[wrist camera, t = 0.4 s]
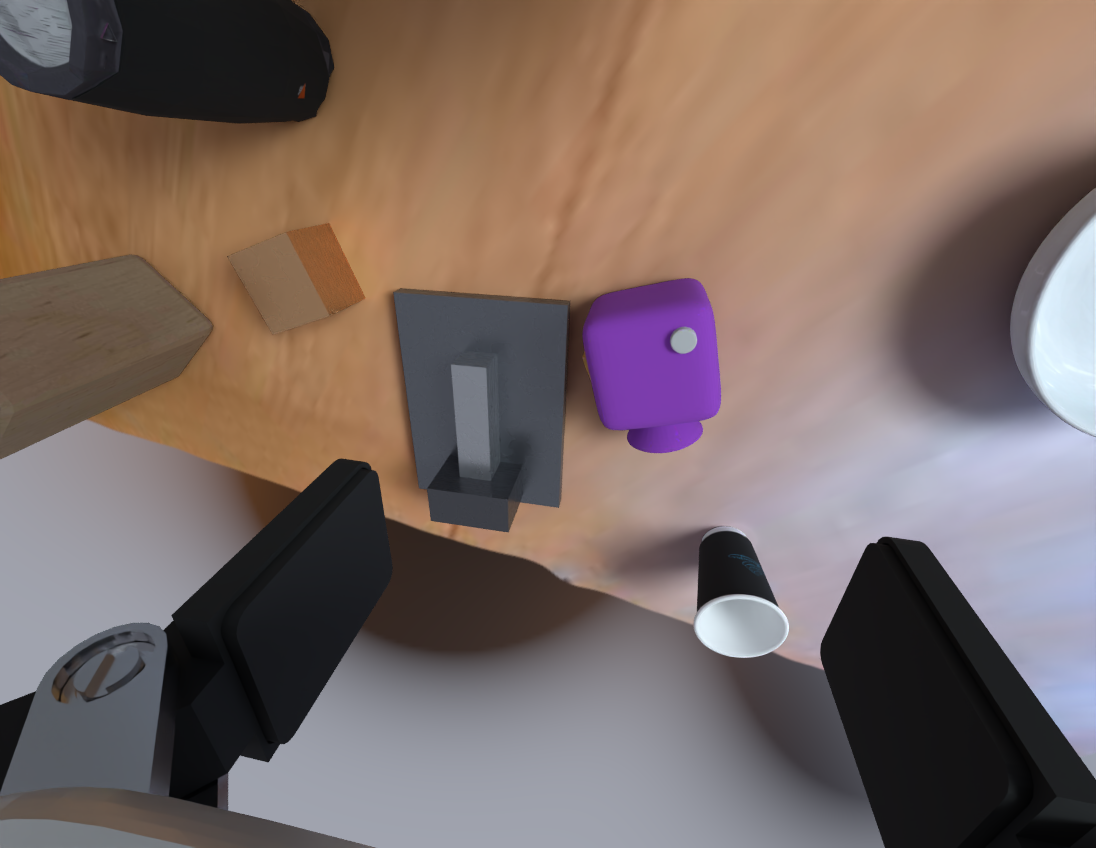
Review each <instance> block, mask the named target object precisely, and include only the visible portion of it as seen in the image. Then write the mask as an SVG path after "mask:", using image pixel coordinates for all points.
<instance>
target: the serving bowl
mask: <svg viewBox="0 0 1096 848" xmlns="http://www.w3.org/2000/svg"><path fill="white" fill-rule="evenodd" d="M1010 338H1011V346H1012V351H1013V355H1014V358H1015V361H1016V364H1017V367H1018V369H1019V371H1020V373H1021V375H1022V377H1023V378H1024V380H1025V382H1026V383H1027V385H1028V386H1029V387H1030V389H1031V390H1032V392H1033V393H1034V394H1035V395H1036V396H1037V397H1038V399H1039V400H1040V401H1041V402H1042V403H1043V404H1044V405H1046V406H1047V407H1048V408H1049V409H1050V410H1051V411H1052V412H1053V413H1054V414H1055V415H1056V416H1058V417H1059V418H1060V419H1061V420H1063V421H1064V422H1066V423H1067V424H1069V425H1071V426H1072V427H1074V428H1076V429H1078V430H1080V431H1082V432H1084V433H1086V434H1089V435H1091V436H1094V437H1096V188H1094V189H1093V190H1092V191H1091V192H1089V193H1088V194H1087V195H1086V196H1085V197H1084V198H1083V199H1081V200H1080V201H1079V202H1078V203H1077V204H1076V205H1075V206H1074V207H1073V208H1072V209H1071V210H1070V211H1069V212H1068V213H1067V214H1066V215H1065V216H1064V217H1063V218H1062V219H1061V220H1060V221H1059V222H1058V224H1057V225H1056V226H1055V227H1054V228H1053V229H1052V230H1051V232H1050V233H1049V234H1048V236H1047V237H1046V238H1045V239H1044V241H1043V242H1042V243H1041V245H1040V246H1039V248H1038V249H1037V251H1036V252H1035V254H1034V256H1033V257H1032V259H1031V261H1030V262H1029V264H1028V266H1027V268H1026V270H1025V272H1024V274H1023V276H1022V278H1021V281H1020V283H1019V286H1018V289H1017V292H1016V295H1015V299H1014V302H1013V307H1012V312H1011V321H1010Z"/></svg>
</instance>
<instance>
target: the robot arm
mask: <svg viewBox="0 0 1096 848" xmlns="http://www.w3.org/2000/svg"><path fill="white" fill-rule="evenodd" d="M391 575H392V560H391V554H390V547H389V541H388V535H387V529H386V522H385V516H384V509H383V503H382V497H381V490H380V484H379V478H378V474H377V472H376V471H374V470H371V466H370V465H369V464H368V463H366V462H361V461H354V460H348V459H337V460H336V461H334V462H333V463H332V464H331V465H330V466H329V467H328V468H327V469H326V470H325V471H324V472H323V473H322V474H321V475H320V476H318V477H317V478H316V479H315V480H314V481H313V482H312V483H311V484H310V485H309V486H308V487H307V488H306V489H305V490H304V491H303V492H302V493H300V494H299V495H298V496H297V497H296V498H295V499H294V500H293V501H292V502H291V503H290V504H289V505H288V506H287V507H286V508H285V509H284V510H283V511H282V512H280V514H278V515H277V516H276V517H275V518H274V519H273V520H272V521H271V522H270V523H269V524H268V525H267V526H266V527H265V528H263V529H262V530H261V531H260V532H259V533H258V534H257V535H256V536H255V537H254V538H253V539H252V540H251V541H250V542H249V543H248V544H247V545H246V546H244V547H243V548H242V549H241V550H240V551H239V552H238V553H237V554H236V555H235V556H234V557H233V558H232V559H231V560H230V561H229V562H228V563H226V564H225V565H224V566H223V567H222V568H221V569H220V570H219V571H218V572H217V573H216V574H215V575H214V576H213V577H212V578H211V579H209V581H207V582H206V583H205V584H204V585H203V586H202V587H201V588H200V589H199V590H198V591H197V592H196V593H195V594H194V595H193V596H191V597H190V598H189V599H188V600H187V601H186V602H185V603H184V604H183V605H182V606H181V607H180V608H179V609H178V610H177V611H176V612H175V613H174V614H172V618H173V620H174V621H173V622H171V624H170V625H168V626H167V627H166V628H165V629H164V630H162V629H161V628H160V627H159V626H156V625H153V624H150V623H130V624H126V625H121V626H117V627H113V628H111V629H108V630H106V631H103V632H101V633H98V634H96V635H94V636H92V637H90V638H89V639H87V640H85V641H83V642H81V643H80V644H78V645H76V646H75V647H74V648H72V649H71V650H70V651H68V652H67V653H66V654H65V655H63V656H62V657H61V658H59V659H58V660H57V662H56V663H55V664H54V665H53V666H52V667H51V668H50V669H49V670H48V671H47V672H46V674H45V675H44V677H43V679H42V681H41V682H40V684H39V686H38V688H37V690H36V691H35V692H33V693H30V694H28V695H25V696H22V697H20V698H17V699H15V700H12V701H9V702H7V703H4V704H2V705H0V848H375V847H371V846H367V845H363V844H359V843H355V842H352V841H347V840H344V839H339V838H336V837H332V836H328V835H324V834H320V833H317V832H313V831H309V830H305V829H301V828H297V827H294V826H290V825H286V824H282V823H278V822H274V821H270V820H266V819H262V818H257V817H253V816H249V815H245V814H240V813H236V812H231V811H228V772H229V770H230V769H231V768H232V766H233V765H234V763H235V762H236V760H237V759H238V758H239V756H240V755H241V756H244V757H248V758H253V759H257V760H261V761H265V762H269V761H270V759H271V758H272V756H273V754H274V753H275V751H276V750H277V748H278V746H279V745H280V744H285V743H287V742H288V741H289V740H290V739H291V738H292V737H293V736H294V734H295V733H296V731H297V730H298V728H299V727H300V725H301V723H302V722H303V720H304V719H305V717H306V715H307V714H308V712H309V711H310V709H311V707H312V706H313V704H314V702H315V701H316V699H317V698H318V696H319V695H320V693H321V691H322V690H323V688H324V686H325V685H326V683H327V682H328V680H329V678H330V677H331V675H332V674H333V672H334V670H335V669H336V667H337V666H338V664H339V662H340V661H341V659H342V657H343V656H344V654H345V653H346V651H347V650H348V648H349V646H350V645H351V643H352V642H353V640H354V638H355V637H356V635H357V633H358V632H359V630H360V629H361V627H362V625H363V624H364V622H365V621H366V619H367V617H368V616H369V614H370V613H371V611H372V609H373V608H374V606H375V605H376V603H377V601H378V600H379V598H380V597H381V595H382V593H383V591H384V590H385V589H386V587H387V585H388V583H389V581H390V579H391ZM820 654H821V661H822V665H823V667H824V670H825V673H826V676H827V679H828V682H829V685H830V688H831V691H832V694H833V697H834V699H835V703H836V705H837V708H838V711H839V714H840V717H841V720H842V723H843V726H844V729H845V732H846V735H847V738H848V741H849V744H850V746H851V749H852V752H853V755H854V758H855V761H856V764H857V767H858V770H859V773H860V776H861V779H862V782H863V785H864V787H865V790H866V793H867V796H868V798H869V802H870V805H871V808H872V811H873V814H874V817H875V820H876V822H877V825H878V828H879V831H880V834H881V837H882V840H883V843H884V846H885V848H1096V780H1095V778H1094V776H1093V775H1092V774H1091V772H1090V771H1089V770H1088V768H1087V767H1086V765H1085V764H1084V763H1083V761H1082V760H1081V758H1080V757H1079V756H1078V754H1077V753H1076V751H1075V750H1074V749H1073V747H1072V746H1071V745H1070V743H1069V742H1068V740H1067V739H1066V738H1065V736H1064V735H1063V733H1062V732H1061V731H1060V729H1059V728H1058V727H1057V725H1056V724H1055V722H1054V721H1053V720H1052V718H1051V717H1050V715H1049V714H1048V713H1047V711H1046V710H1045V708H1044V707H1043V706H1042V704H1041V703H1040V702H1039V700H1038V699H1037V697H1036V696H1035V695H1034V693H1033V692H1032V690H1031V689H1030V688H1029V686H1028V685H1027V684H1026V682H1025V681H1024V679H1023V678H1022V677H1021V675H1020V674H1019V672H1018V671H1017V670H1016V668H1015V667H1014V665H1013V664H1012V663H1011V661H1010V660H1009V659H1008V657H1007V656H1006V654H1005V653H1004V652H1003V650H1002V649H1001V647H1000V646H999V645H998V643H997V642H996V640H995V639H994V638H993V636H992V635H991V634H990V632H989V631H988V629H987V628H986V627H985V625H984V624H983V622H982V621H981V620H980V618H979V617H978V616H977V614H976V613H975V611H974V610H973V609H972V607H971V606H970V604H969V603H968V602H967V600H966V599H965V597H964V596H963V595H962V593H961V592H960V591H959V589H958V588H957V586H956V585H955V584H954V582H953V581H952V579H951V578H950V577H949V575H948V574H947V572H946V571H945V570H944V568H943V567H942V566H941V564H940V563H939V561H938V560H937V559H936V557H935V556H934V554H933V553H932V552H931V550H930V549H929V548H928V547H927V546H926V545H925V544H924V543H922V542H920V541H913V540H906V539H899V538H892V537H882V538H881V539H879V540H878V542H877V543H870V544H869V545H867V547H866V549H865V551H864V553H863V555H862V557H861V559H860V561H859V563H858V565H857V568H856V570H855V572H854V574H853V576H852V578H851V580H850V583H849V585H848V587H847V589H846V591H845V593H844V595H843V597H842V600H841V602H840V604H839V606H838V608H837V610H836V612H835V614H834V617H833V619H832V621H831V623H830V625H829V627H828V629H827V631H826V634H825V636H824V638H823V640H822V643H821V649H820Z"/></svg>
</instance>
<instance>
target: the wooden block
mask: <svg viewBox="0 0 1096 848" xmlns="http://www.w3.org/2000/svg"><path fill="white" fill-rule="evenodd" d="M212 327H213V326H212V324H211V322H210V321H209V320H208V319H207V318H206V317H205V316H204V315H203V314H202V313H201V312H200V311H199V310H198V309H197V308H196V307H194V306H193V305H192V304H191V303H190V302H189V301H188V300H187V299H186V298H185V297H184V296H183V295H182V294H181V293H179V292H178V291H177V290H176V289H175V288H174V287H173V286H172V285H171V284H170V283H169V282H168V281H167V280H166V279H164V278H163V277H162V276H161V275H160V274H159V273H158V272H157V271H156V270H155V269H154V268H153V267H152V266H151V265H149V264H148V263H147V262H146V261H145V260H144V259H143V258H141V257H139V256H137V255H125V256H120V257H115V258H110V259H104V260H99V261H94V262H89V263H83V264H78V265H73V266H68V267H62V268H57V269H52V270H46V271H41V272H36V273H31V274H25V275H20V276H15V277H10V278H4V279H0V459H2V458H4V457H7V456H9V455H11V454H13V453H15V452H17V451H19V450H22V449H24V448H26V447H28V446H30V445H32V444H34V443H37V442H39V441H41V440H43V439H45V438H47V437H49V436H52V435H54V434H56V433H58V432H60V431H62V430H64V429H66V428H68V427H71V426H73V425H75V424H77V423H79V422H81V421H84V420H86V419H88V418H90V417H92V416H95V415H97V414H99V413H101V412H103V411H105V410H107V409H110V408H112V407H114V406H116V405H118V404H120V403H122V402H125V401H127V400H129V399H131V398H133V397H135V396H137V395H140V394H142V393H144V392H146V391H148V390H150V389H152V388H155V387H157V386H159V385H161V384H163V383H165V382H167V381H170V380H172V379H174V378H176V377H178V376H179V375H180V374H181V372H182V371H183V369H184V368H185V367H186V365H187V364H188V363H189V361H190V360H191V358H192V357H193V356H194V354H195V353H196V352H197V350H198V349H199V347H200V346H201V345H202V343H203V342H204V341H205V339H206V338H207V336H208V335H209V334H210V332H211V331H212Z"/></svg>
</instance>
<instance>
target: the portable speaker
mask: <svg viewBox="0 0 1096 848" xmlns="http://www.w3.org/2000/svg"><path fill="white" fill-rule="evenodd" d="M333 69H334V64H333V59H332V54H331V49H330V45H329V40H328V38H327V37H326V36H325V34H324V33H323V32H322V30H321V29H320V28H319V26H318V25H317V23H316V22H315V21H314V19H313V18H312V17H311V15H310V14H309V13H308V12H306V11H305V10H304V9H302V8H301V7H299V6H298V5H296V4H295V3H293V2H292V1H291V0H0V75H1V76H2V77H3V78H4V79H6V80H7V81H8V82H9V83H10V84H12V85H14V86H17V87H20V88H22V89H25V90H28V91H31V92H35V93H40V94H44V95H49V96H53V97H58V98H63V99H67V100H73V101H78V102H83V103H88V104H92V105H97V106H102V107H107V108H112V109H117V110H122V111H126V112H131V113H136V114H141V115H146V116H157V117H168V118H180V119H192V120H204V121H215V122H227V123H265V122H286V121H298V122H300V121H303V120H306V119H309V118H312V117H316V114H317V110H318V108H319V107H320V105H321V104H322V102H323V101H324V99H325V96H326V92H327V87H328V83H329V78H330V74H331V73H332V71H333Z"/></svg>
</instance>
